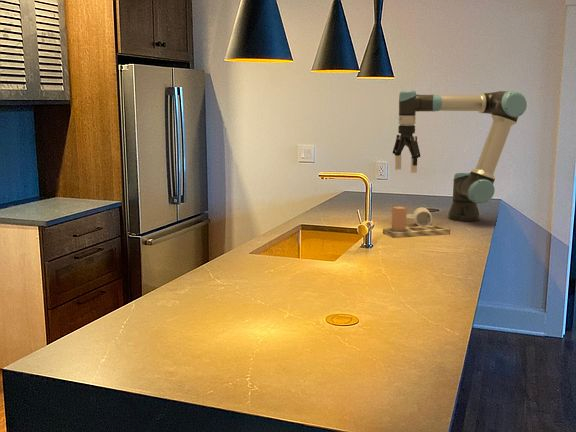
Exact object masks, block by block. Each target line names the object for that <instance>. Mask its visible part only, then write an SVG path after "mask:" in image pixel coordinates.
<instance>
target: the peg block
mask: <svg viewBox="0 0 576 432" xmlns="http://www.w3.org/2000/svg"><path fill="white" fill-rule="evenodd" d="M391 209H392V213H391V228H392V230H393V231H406V227H407V219H406V215H407V209H408V208H406V207H403V206H392V208H391Z"/></svg>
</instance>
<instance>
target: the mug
mask: <svg viewBox="0 0 576 432" xmlns="http://www.w3.org/2000/svg"><path fill="white" fill-rule="evenodd" d="M406 220H411V221H414V223H415V224H416V225H417V226H432V225H431V224H433V223H432V222H433V215H432V214H431V212H430V210H428V208H425V207H424V206H423V207H422V206H421V207H418V208H416V209H415V210H414V211H413V213H411V214H410V213H409V214H406Z"/></svg>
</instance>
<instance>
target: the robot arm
mask: <svg viewBox="0 0 576 432" xmlns="http://www.w3.org/2000/svg"><path fill="white" fill-rule="evenodd" d="M526 110H527V99H526V97H525V95H524V94H522V93H521V92H519V91H515V90H507V91H505V90H502V91H501V90H500V91H499V90H498V91H494V92H481V93H479V94H417V92H416V90H401V91H399V96H398V124H399V125H398V130H397V131H398V133H399V134H396V138H395V139H396V140H395V142H394V146H393V149H392V155H394V156H395V157H394V158H395V159H394V161H395V162H394V163H395V165H394V170H396V171H398V170H402V152H403V150H404V148H405V147H407V148H408V150H409V153H410V155H411V158H410V173H412V174H413V173H414V174H415V173H418V158H421V152H420V148H419V143H418V136H417V135H413V134H415V133H416V125H415V124H416V113H417V112H434V113H435V112H440V111H443V112H478V113H479V114H489V115H491V118H492V123H491V126H490V128H489V131H488V134H487V137H486V139H485V142H484V145H483V147H482V150H481V153H480V156H479V158H478V160H477V164H476V166H475V168H474V169H472V170H471V171H470V172H456V173H455V174H454V176H453V187H452V189H453V190H452V202H451V206H450V208H449V211H448V214H447V218H448V219H449V220H453V221H459V222H460V221H461V222H477V221H479V220H480V212H479V208H478V204H485V203H488V202H490V201H491V199H492V198H493V196H494V195H495V186H494V183H495V181H496V180H495V179H496V177H495V171H496V168H497V165H498V162H499V160H500V158H501V154H502V152H503V149H504V147H505V144H506V141H507V138H508V136H509V134H510V132H511V128H512V126H514V125H516V124H517V122H518V119H519V117H520V116H523V115H524V113H525V111H526Z"/></svg>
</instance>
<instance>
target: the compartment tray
mask: <svg viewBox="0 0 576 432" xmlns="http://www.w3.org/2000/svg"><path fill="white" fill-rule="evenodd" d="M382 234H385V235H387V236H388V237H391V238H394V239H395V238H409V237H410V238H412V237H425V236H440V235H451V229H449V228H447V227H445V226H442V225H439V224H436V225H430V226H418V225H417V226H406V231H393V230H392V227H390V228H388V227H387V228H382Z"/></svg>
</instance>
